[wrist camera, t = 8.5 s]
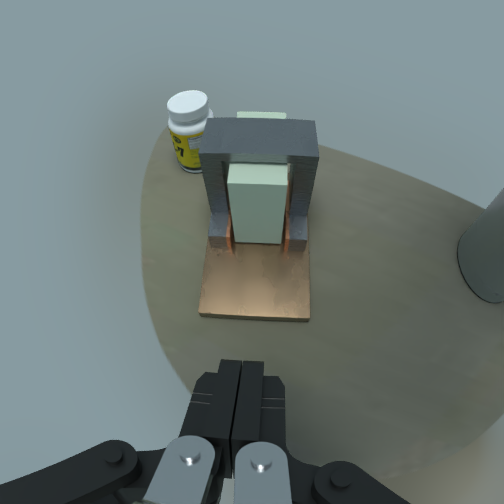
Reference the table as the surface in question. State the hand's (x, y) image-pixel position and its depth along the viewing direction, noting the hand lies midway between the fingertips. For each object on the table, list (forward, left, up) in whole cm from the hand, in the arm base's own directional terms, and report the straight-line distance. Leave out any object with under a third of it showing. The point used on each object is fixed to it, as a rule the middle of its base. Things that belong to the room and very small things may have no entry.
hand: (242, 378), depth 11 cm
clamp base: (-11, -9, -14) cm, 20 cm away
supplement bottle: (-14, -21, -14) cm, 29 cm away
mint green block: (-13, -11, -13) cm, 21 cm away
